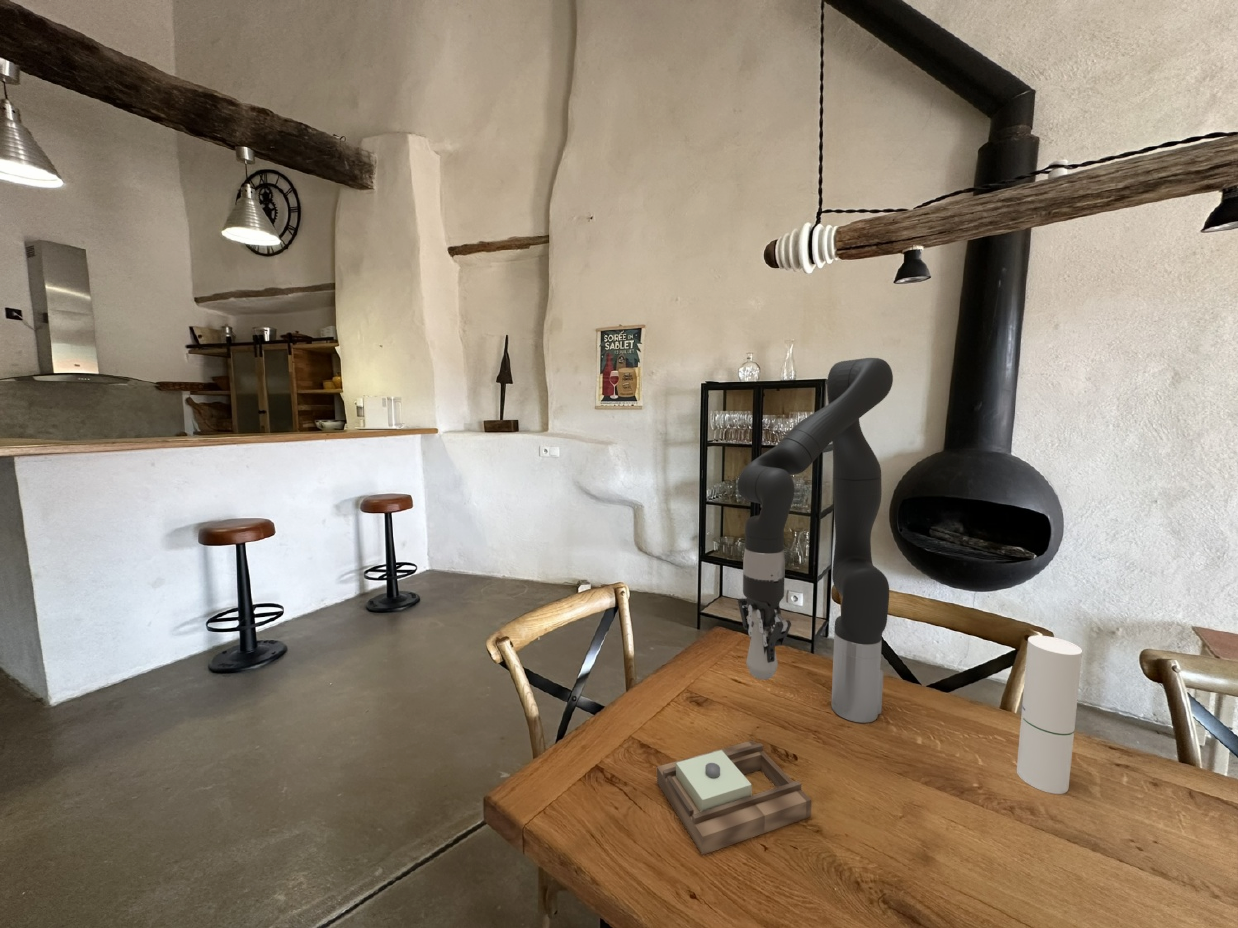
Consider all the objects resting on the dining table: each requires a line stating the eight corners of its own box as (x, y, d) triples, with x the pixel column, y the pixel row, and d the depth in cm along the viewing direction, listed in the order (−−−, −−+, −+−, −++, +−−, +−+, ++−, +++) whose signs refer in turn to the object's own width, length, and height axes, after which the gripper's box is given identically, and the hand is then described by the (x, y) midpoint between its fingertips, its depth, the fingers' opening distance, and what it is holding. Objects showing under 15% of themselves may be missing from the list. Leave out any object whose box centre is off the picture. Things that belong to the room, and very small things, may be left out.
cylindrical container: (1060, 771, 94) (1073, 639, 91) (1075, 798, 87) (1089, 658, 85) (1012, 760, 97) (1023, 632, 94) (1022, 786, 90) (1034, 649, 88)
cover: (721, 762, 92) (721, 744, 92) (751, 798, 84) (751, 778, 83) (675, 776, 89) (676, 757, 89) (702, 814, 81) (702, 793, 80)
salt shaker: (774, 667, 103) (775, 603, 101) (780, 682, 97) (781, 615, 95) (744, 666, 103) (745, 603, 102) (748, 681, 97) (749, 615, 96)
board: (752, 754, 99) (752, 735, 99) (810, 816, 84) (811, 793, 84) (656, 782, 92) (656, 761, 92) (702, 854, 77) (702, 830, 77)
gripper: (726, 563, 103) (725, 646, 105) (770, 586, 90) (768, 680, 92) (757, 559, 105) (756, 640, 107) (805, 580, 92) (803, 672, 94)
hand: (762, 658), depth 100 cm, fingers closed on salt shaker, 3 cm apart
